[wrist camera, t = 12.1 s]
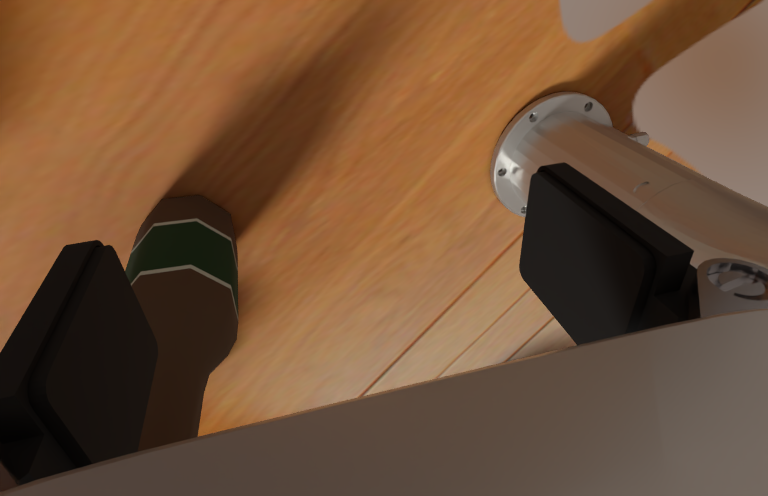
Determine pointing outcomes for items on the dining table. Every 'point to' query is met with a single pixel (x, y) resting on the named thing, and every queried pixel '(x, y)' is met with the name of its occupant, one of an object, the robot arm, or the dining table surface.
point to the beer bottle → (184, 308)
